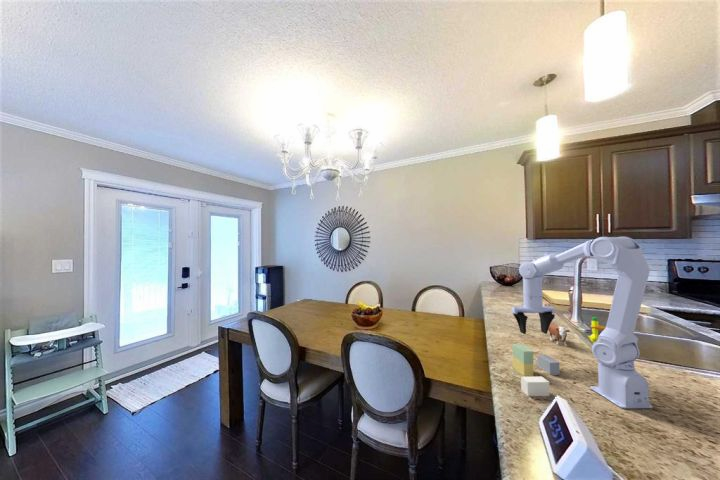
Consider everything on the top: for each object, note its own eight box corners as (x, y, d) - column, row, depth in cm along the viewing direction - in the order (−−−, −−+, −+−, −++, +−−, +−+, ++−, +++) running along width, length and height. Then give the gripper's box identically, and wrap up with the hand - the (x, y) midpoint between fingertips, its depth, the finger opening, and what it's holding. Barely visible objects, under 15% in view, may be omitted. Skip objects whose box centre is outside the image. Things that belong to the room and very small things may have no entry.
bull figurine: (559, 349, 102) (559, 328, 102) (546, 337, 115) (545, 319, 115) (572, 350, 101) (572, 329, 101) (557, 338, 114) (557, 319, 114)
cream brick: (542, 390, 75) (541, 376, 75) (549, 396, 72) (549, 382, 72) (521, 390, 75) (521, 376, 75) (527, 396, 72) (527, 382, 72)
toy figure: (610, 349, 102) (609, 318, 102) (609, 351, 99) (608, 320, 99) (587, 344, 106) (586, 315, 107) (586, 347, 104) (585, 317, 104)
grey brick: (559, 374, 83) (559, 362, 83) (550, 375, 83) (549, 362, 83) (546, 366, 89) (546, 354, 89) (537, 366, 89) (537, 354, 89)
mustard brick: (533, 376, 82) (533, 363, 82) (524, 376, 82) (523, 364, 82) (521, 367, 88) (521, 355, 88) (513, 367, 88) (512, 355, 88)
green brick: (533, 364, 82) (533, 351, 82) (523, 364, 82) (523, 351, 82) (521, 355, 88) (521, 344, 88) (513, 355, 88) (512, 344, 88)
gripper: (545, 292, 97) (545, 328, 97) (506, 293, 98) (507, 329, 97) (559, 296, 90) (560, 335, 90) (517, 297, 90) (518, 336, 90)
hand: (533, 332), depth 93 cm, fingers open, 7 cm apart
